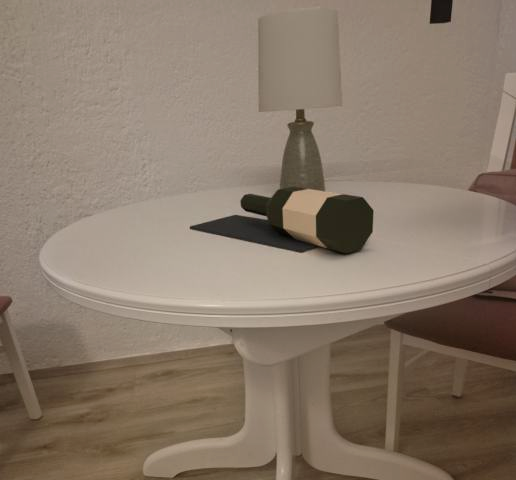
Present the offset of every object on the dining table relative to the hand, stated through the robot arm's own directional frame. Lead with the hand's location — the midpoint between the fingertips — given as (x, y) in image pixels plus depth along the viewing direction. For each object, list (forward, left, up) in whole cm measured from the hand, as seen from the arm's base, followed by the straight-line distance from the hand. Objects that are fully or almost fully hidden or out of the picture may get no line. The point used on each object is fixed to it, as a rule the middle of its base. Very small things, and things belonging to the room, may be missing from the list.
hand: (440, 22), depth 73 cm
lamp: (+25, -28, -31) cm, 48 cm away
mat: (+29, +4, -30) cm, 42 cm away
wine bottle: (+12, +19, -26) cm, 34 cm away
